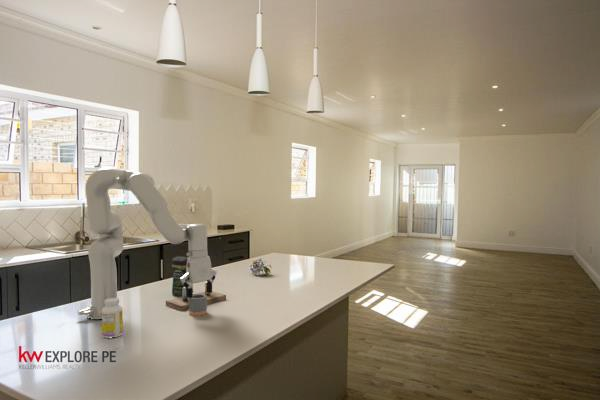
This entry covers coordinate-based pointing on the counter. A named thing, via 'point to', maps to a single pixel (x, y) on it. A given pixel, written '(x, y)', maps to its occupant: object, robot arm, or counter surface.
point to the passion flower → (259, 267)
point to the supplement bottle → (112, 318)
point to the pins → (184, 296)
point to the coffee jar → (179, 274)
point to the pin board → (184, 305)
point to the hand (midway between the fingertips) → (199, 294)
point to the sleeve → (198, 305)
